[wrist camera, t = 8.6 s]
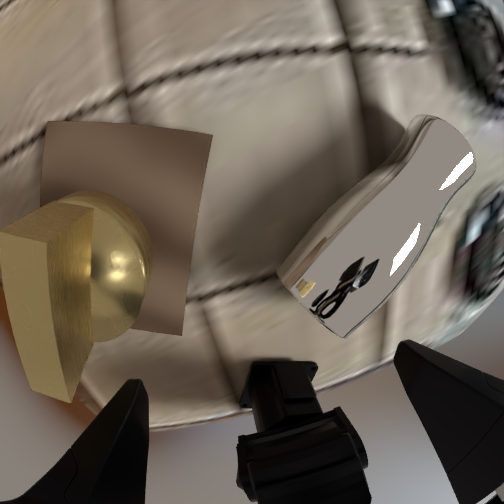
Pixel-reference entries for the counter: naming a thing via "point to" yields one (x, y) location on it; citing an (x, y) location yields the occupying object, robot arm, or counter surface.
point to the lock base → (138, 195)
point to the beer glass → (378, 227)
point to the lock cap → (72, 283)
